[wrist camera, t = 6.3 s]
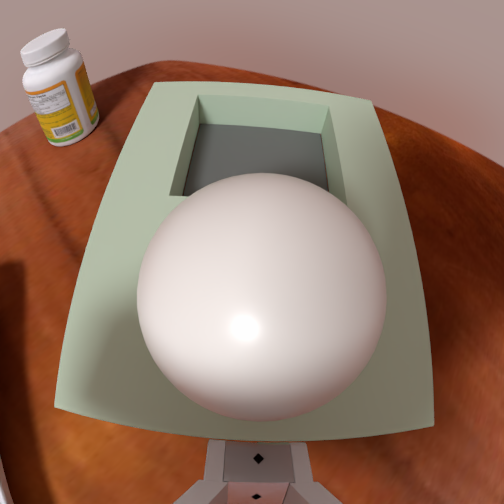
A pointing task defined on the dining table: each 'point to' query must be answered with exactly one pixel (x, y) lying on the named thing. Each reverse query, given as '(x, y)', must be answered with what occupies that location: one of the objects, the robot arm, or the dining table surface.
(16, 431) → the dining table surface
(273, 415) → the ball
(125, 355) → the putting deck
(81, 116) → the supplement bottle
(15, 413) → the dining table surface
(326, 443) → the dining table surface
